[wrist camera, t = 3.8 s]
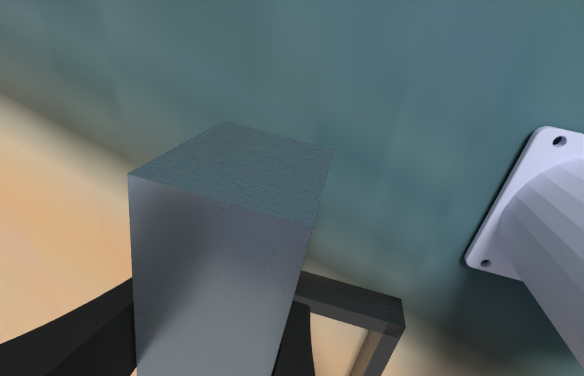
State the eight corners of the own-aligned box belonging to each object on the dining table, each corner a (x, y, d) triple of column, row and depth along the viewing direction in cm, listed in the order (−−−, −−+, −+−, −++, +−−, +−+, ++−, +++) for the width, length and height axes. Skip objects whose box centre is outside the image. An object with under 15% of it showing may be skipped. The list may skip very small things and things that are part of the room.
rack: (401, 299, 19) (407, 339, 17) (338, 430, 27) (336, 473, 24) (182, 236, 21) (155, 264, 18) (178, 376, 28) (159, 411, 25)
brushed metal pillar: (333, 149, 10) (313, 227, 6) (280, 339, 15) (245, 463, 11) (223, 120, 11) (127, 174, 6) (203, 314, 15) (139, 424, 11)
